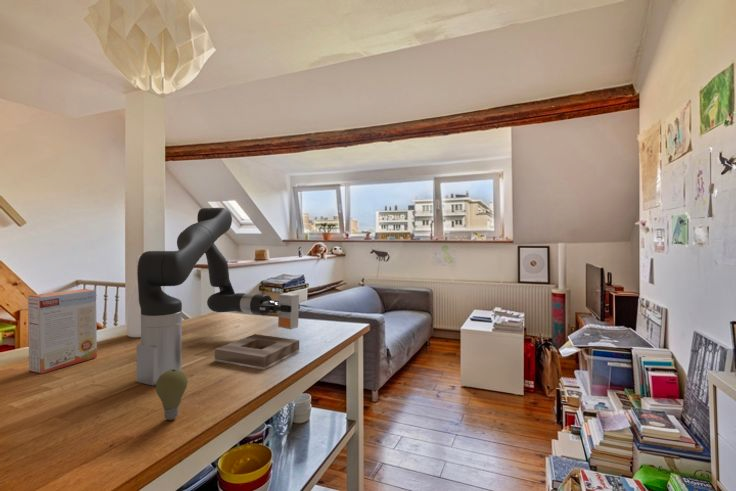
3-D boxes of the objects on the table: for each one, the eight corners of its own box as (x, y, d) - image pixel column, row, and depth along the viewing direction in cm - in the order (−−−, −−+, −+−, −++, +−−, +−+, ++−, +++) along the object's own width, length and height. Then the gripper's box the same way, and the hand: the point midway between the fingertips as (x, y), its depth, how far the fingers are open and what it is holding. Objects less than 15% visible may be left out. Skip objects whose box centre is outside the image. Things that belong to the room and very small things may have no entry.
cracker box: (84, 355, 106) (84, 288, 106) (97, 358, 104) (97, 289, 104) (26, 371, 93) (26, 294, 93) (40, 374, 91) (40, 296, 91)
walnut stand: (264, 369, 96) (264, 357, 96) (214, 360, 103) (214, 348, 103) (299, 350, 113) (299, 340, 113) (254, 344, 120) (255, 334, 120)
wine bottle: (120, 337, 126) (120, 256, 125) (138, 331, 135) (138, 254, 135) (145, 338, 125) (146, 256, 125) (162, 331, 135) (162, 255, 134)
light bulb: (192, 412, 72) (192, 365, 72) (178, 426, 67) (178, 375, 67) (165, 412, 72) (165, 365, 72) (149, 426, 67) (149, 375, 66)
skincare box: (277, 327, 122) (278, 294, 122) (285, 325, 126) (286, 292, 126) (290, 329, 119) (291, 295, 119) (298, 327, 123) (299, 294, 123)
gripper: (242, 296, 121) (283, 300, 115) (268, 291, 135) (306, 294, 128) (242, 317, 121) (283, 322, 115) (267, 310, 135) (305, 314, 128)
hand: (294, 307), depth 122 cm, fingers closed on skincare box, 4 cm apart
